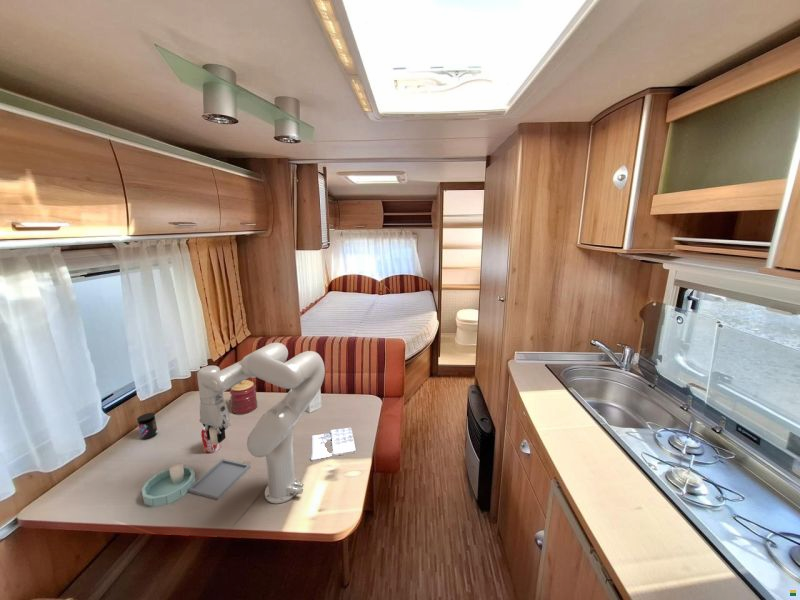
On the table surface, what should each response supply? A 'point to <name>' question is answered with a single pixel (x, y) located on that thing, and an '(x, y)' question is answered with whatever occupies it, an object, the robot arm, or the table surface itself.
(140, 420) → the supplement container
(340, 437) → the open book
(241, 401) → the canister
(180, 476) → the cream egg
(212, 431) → the pebble
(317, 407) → the small box
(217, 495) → the parts tray
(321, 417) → the table surface
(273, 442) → the robot arm
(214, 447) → the soda can
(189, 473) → the bowl
